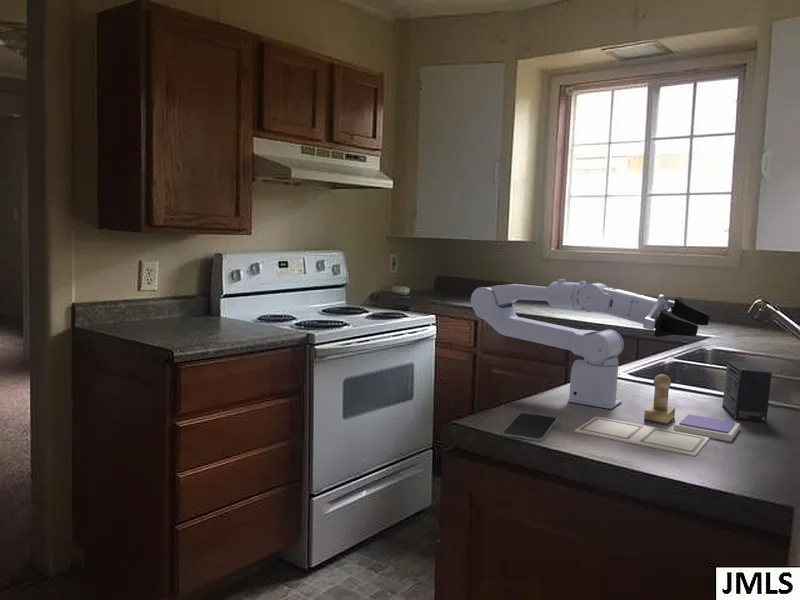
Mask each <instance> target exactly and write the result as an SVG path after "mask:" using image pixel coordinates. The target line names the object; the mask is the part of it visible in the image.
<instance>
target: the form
mask: <svg viewBox="0 0 800 600" xmlns="http://www.w3.org/2000/svg"><path fill="white" fill-rule="evenodd" d="M574 433H580V434H585V435H588V436H593V437H594V436H595V437H599V438H603V439H609V440H613V441H618V442H622V443H628V444H634V445H638V446H643V447H647V448H654V449H657V450H661V451H662V450H663V451H667V452H672V453H677V454H681V455H688V456H692V457H696V456H697V455H698V454H699V452H700V451H701V450H702V449H703V448H704V447H705V445H706V444H707V442H708V441H709V440H710V438H709V437H704V436H698V435H693V434H688V433H682V432H677V431H673V430H669V429H664V428H659V427H654V426H649V425H643V424H638V423H633V422H628V421H622V420H618V419H611V418H607V417H601V416H594V417H593V418H591V419H590V420H588V421H587V422H585V423H583V424H582V425H580V426H579V427H577V428H576V429H574Z"/></svg>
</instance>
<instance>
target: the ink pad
mask: <svg viewBox="0 0 800 600" xmlns="http://www.w3.org/2000/svg"><path fill="white" fill-rule="evenodd" d="M740 427H741V423H740V422H739V423H738V422H735V421H731V420H723V419H719V418H713V417H707V416H701V415H695V414H691V413H688V414H686V413H685V414H683V415H682V416H681V417H680V418H679V419H678V420H677V421H675V423H674V424H673V430H672V431H676V432H681V433H687V434H692V435H697V436H703V437H708V438H709V439H710V438H711V439H716V440H721V441H726V442H730V443H731V442H732V441H733V440H734V438H736V436H737V434H738V432H739V431H740Z"/></svg>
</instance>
